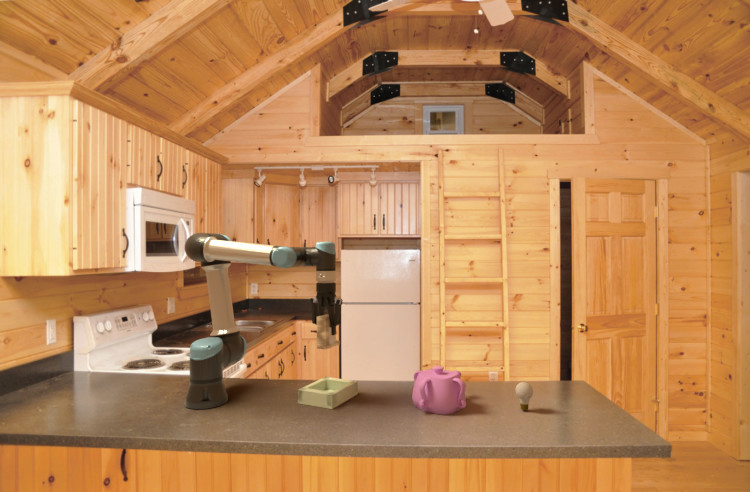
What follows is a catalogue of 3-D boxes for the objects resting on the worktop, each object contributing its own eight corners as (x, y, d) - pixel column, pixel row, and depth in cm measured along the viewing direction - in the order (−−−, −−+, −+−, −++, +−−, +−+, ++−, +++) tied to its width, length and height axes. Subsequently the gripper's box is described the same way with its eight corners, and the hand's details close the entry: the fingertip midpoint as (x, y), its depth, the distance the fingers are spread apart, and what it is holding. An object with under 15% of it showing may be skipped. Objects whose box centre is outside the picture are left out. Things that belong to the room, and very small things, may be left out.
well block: (297, 403, 166) (297, 389, 166) (325, 388, 183) (325, 376, 183) (331, 409, 159) (331, 395, 159) (357, 393, 176) (357, 381, 176)
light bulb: (533, 408, 158) (532, 380, 158) (533, 414, 152) (533, 385, 153) (515, 407, 160) (515, 379, 160) (515, 412, 154) (515, 383, 154)
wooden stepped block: (316, 348, 167) (316, 316, 168) (331, 343, 176) (330, 313, 177) (325, 349, 166) (325, 317, 166) (339, 344, 175) (339, 313, 175)
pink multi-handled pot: (413, 415, 153) (413, 373, 153) (411, 395, 173) (411, 359, 174) (469, 416, 152) (468, 374, 152) (461, 396, 172) (460, 359, 173)
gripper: (301, 282, 171) (302, 343, 170) (340, 283, 163) (340, 347, 163) (313, 280, 177) (313, 339, 177) (350, 281, 170) (350, 343, 169)
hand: (326, 342), depth 170 cm, fingers closed on wooden stepped block, 4 cm apart
